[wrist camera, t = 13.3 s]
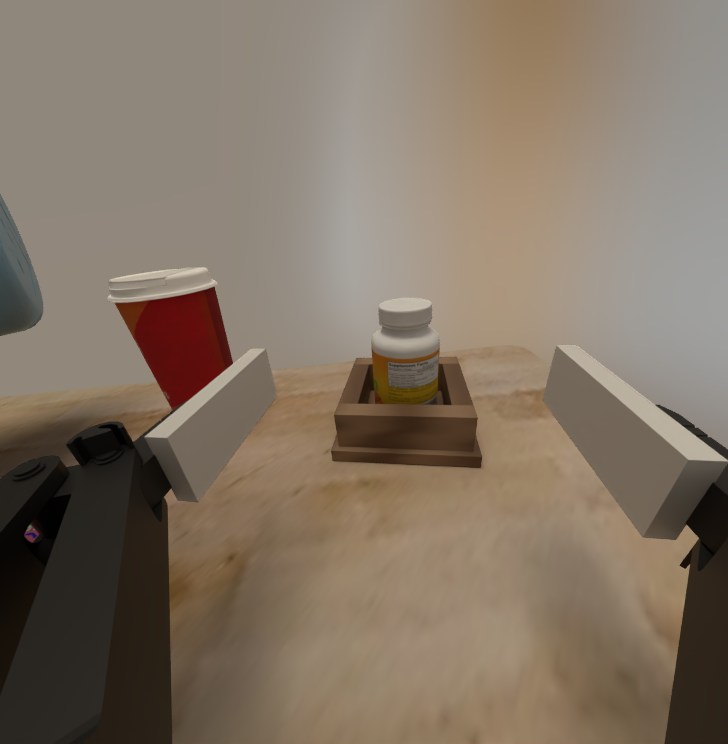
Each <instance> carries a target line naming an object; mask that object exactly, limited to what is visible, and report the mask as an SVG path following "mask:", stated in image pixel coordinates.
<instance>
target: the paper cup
mask: <svg viewBox="0 0 728 744" xmlns="http://www.w3.org/2000/svg"><path fill="white" fill-rule="evenodd" d="M217 284H218V283H217V282H216V281H215V280H212V278H211V276H210V274H209V271H208V269H206V268H203V267H200V268H183V269H170V270H162V271H154V272H146V273H140V274H134V275H128V276H123V277H118V278H114V279H111V280H109V286H110V288H109V291H110V294H111V295H109V296H108V299H107V300H108V301H109V302H113V303H115V305H116V306H117V308H118V310H119V312H120V314H121V316H122V317H123V319H124V321H125V323H126V325H127V327H128V329H129V330H130V332H131V334H132V336H133V338H134V340H135V341H136V343H137V345H138V347H139V349H140V351H141V353H142V355H143V356H144V358H145V360H146V362H147V364H148V366H149V368H150V369H151V371H152V373H153V375H154V377H155V378H156V380H157V382H158V384H159V386H160V388H161V390H162V392H163V393H164V395H165V397H166V399H167V401H168V402H169V404H170V406H171V408H172V410H174V409H175V408H176V407H177V406H179V405H180V404H182V403H184V402H186V401H188V400H189V399H191V398H192V397H193V396H195V395H196V394H197V393H198V392H199V391H201V390H202V389H203V388H204V387H206V386H207V385H208V384H209V383H210V382H212V381H213V380H214V379H215V378H216V377H218V376H219V375H220V374H221V373H223V372H224V371H225V370H226V369H227V368H229V367H230V366H231V365H232V364H233V362H232V357H231V353H230V349H229V345H228V341H227V337H226V332H225V328H224V324H223V320H222V316H221V312H220V307H219V303H218V299H217V295H216V291H215V287H214V286H216V285H217Z"/></svg>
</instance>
